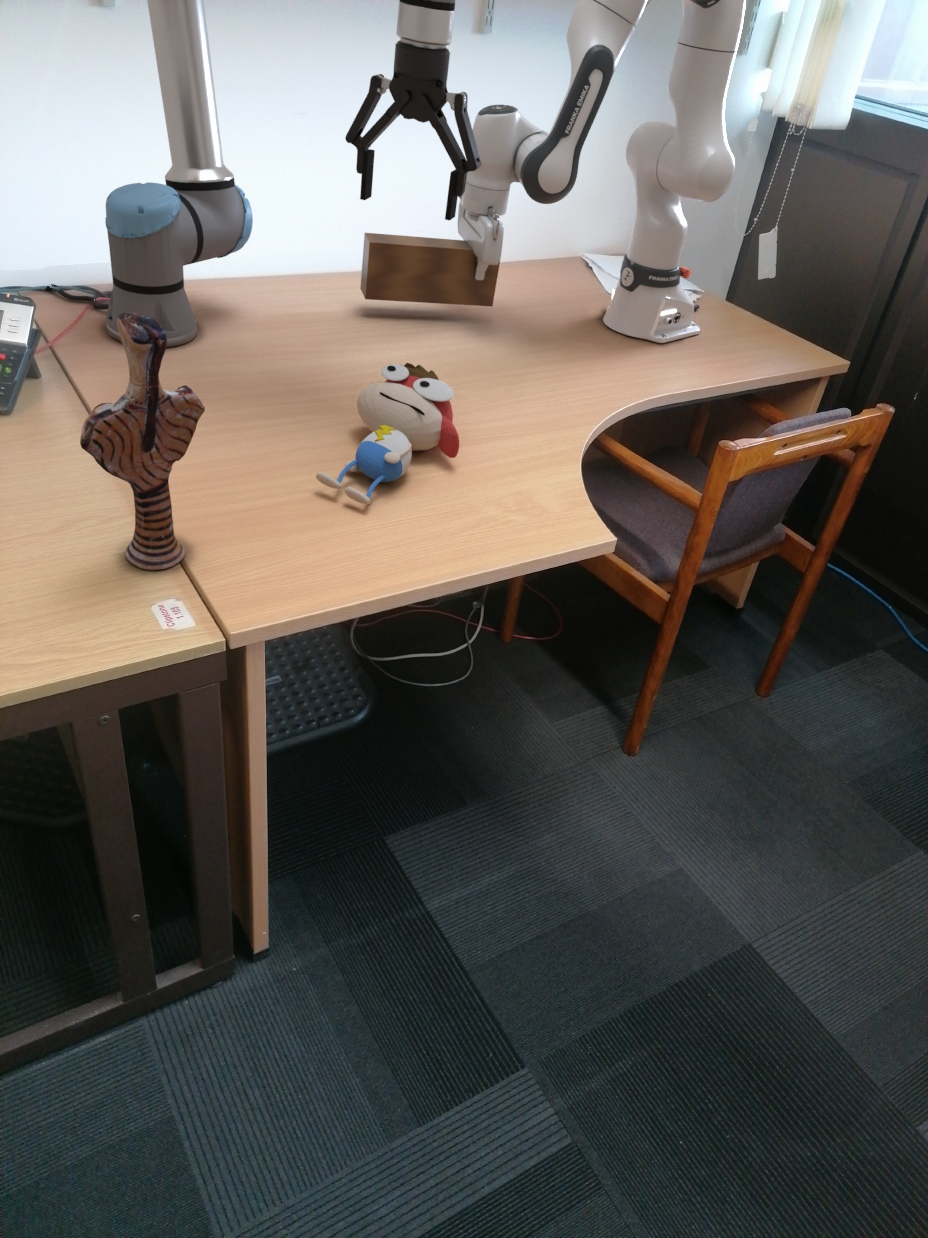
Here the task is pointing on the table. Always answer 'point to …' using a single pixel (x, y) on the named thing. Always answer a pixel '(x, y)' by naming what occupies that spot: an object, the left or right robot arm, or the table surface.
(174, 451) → the figurine
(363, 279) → the box
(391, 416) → the toy
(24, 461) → the table surface
